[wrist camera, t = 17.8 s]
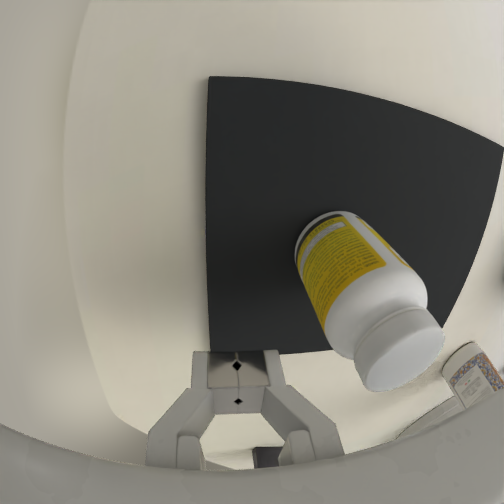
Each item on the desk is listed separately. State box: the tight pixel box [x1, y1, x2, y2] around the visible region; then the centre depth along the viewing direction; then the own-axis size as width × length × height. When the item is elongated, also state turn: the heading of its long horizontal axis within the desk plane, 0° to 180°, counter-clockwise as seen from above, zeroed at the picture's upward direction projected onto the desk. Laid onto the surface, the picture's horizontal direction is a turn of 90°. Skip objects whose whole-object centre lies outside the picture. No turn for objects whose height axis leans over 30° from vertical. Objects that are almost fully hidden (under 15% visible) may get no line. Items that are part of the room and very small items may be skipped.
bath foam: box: [442, 342, 504, 410], centre depth 21 cm, size 7×7×20 cm
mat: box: [206, 76, 504, 355], centre depth 19 cm, size 24×20×1 cm
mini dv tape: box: [252, 447, 283, 469], centre depth 33 cm, size 8×2×6 cm, turn 72°
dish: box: [397, 396, 463, 439], centre depth 41 cm, size 22×22×5 cm
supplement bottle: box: [295, 211, 445, 392], centre depth 14 cm, size 5×5×10 cm
